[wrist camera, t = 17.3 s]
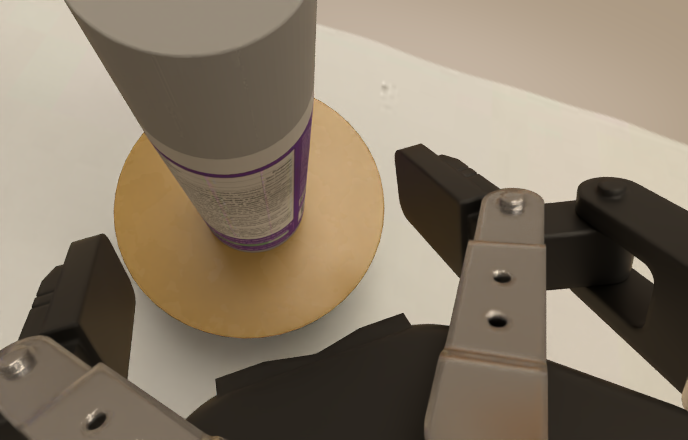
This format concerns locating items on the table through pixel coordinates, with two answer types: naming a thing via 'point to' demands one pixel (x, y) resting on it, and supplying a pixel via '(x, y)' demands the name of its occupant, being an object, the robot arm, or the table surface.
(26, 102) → the table surface
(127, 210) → the tin
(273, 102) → the container
